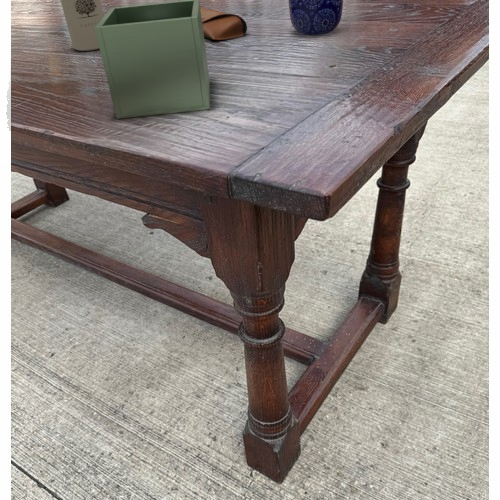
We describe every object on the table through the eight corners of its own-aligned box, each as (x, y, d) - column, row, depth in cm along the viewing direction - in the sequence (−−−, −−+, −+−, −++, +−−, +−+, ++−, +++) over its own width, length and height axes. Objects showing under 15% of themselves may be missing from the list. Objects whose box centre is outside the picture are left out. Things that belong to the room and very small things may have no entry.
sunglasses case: (173, 28, 117) (182, -2, 115) (198, 38, 121) (207, 10, 120) (214, 40, 104) (225, 7, 102) (240, 52, 109) (251, 20, 107)
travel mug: (74, 45, 114) (49, -48, 103) (110, 40, 115) (89, -52, 104) (73, 53, 107) (46, -44, 97) (111, 48, 108) (88, -49, 98)
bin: (116, 119, 74) (94, 27, 67) (128, 88, 85) (110, 7, 78) (209, 109, 74) (197, 17, 67) (209, 80, 85) (199, -2, 78)
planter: (284, 38, 103) (282, -23, 96) (295, 25, 111) (293, -32, 105) (338, 37, 100) (340, -26, 93) (345, 24, 108) (347, -35, 102)
